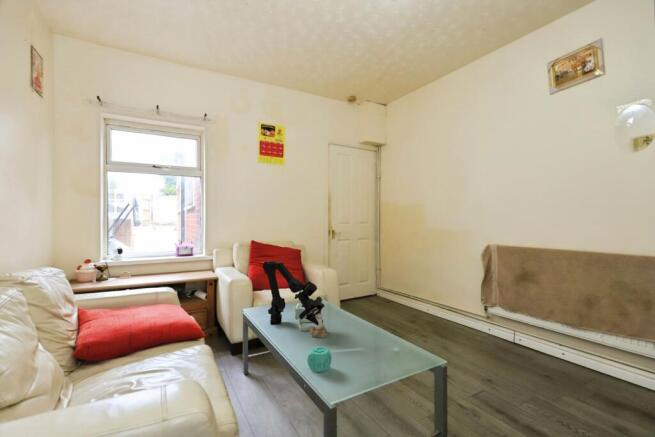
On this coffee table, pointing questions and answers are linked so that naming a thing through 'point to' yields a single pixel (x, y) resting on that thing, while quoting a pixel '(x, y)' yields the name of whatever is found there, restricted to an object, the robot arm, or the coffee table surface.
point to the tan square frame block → (318, 332)
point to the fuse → (319, 319)
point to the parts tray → (303, 322)
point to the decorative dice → (319, 359)
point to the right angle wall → (298, 311)
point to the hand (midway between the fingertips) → (320, 323)
